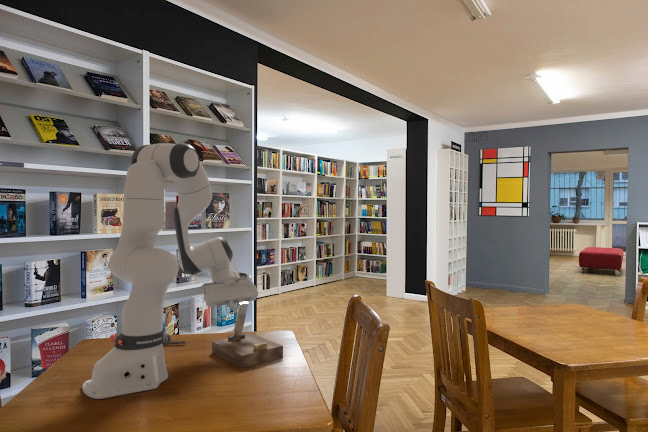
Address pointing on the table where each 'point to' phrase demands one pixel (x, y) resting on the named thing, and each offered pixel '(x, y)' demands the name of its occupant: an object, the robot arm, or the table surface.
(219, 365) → the table surface
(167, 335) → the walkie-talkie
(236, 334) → the strap
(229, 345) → the base
